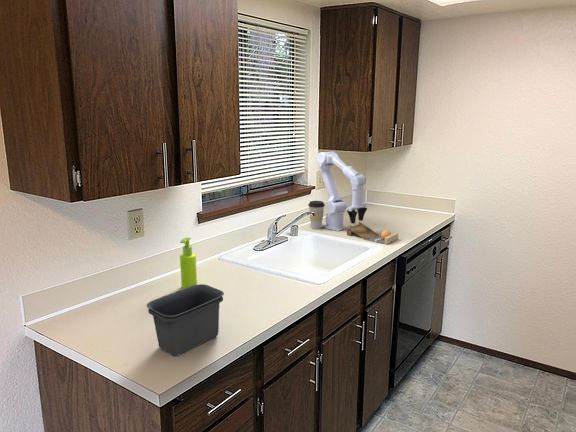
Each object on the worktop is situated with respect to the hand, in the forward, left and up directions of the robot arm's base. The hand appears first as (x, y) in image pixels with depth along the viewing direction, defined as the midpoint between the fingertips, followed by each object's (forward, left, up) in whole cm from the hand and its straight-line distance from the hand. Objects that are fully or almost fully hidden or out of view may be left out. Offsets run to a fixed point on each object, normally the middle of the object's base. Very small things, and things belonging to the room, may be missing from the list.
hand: (356, 221), depth 252 cm
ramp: (+4, 0, -8) cm, 9 cm away
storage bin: (+24, -132, -7) cm, 134 cm away
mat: (+15, 0, -7) cm, 17 cm away
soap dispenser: (-8, -106, -7) cm, 107 cm away
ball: (+18, 0, -4) cm, 19 cm away
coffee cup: (-24, -4, -7) cm, 26 cm away
